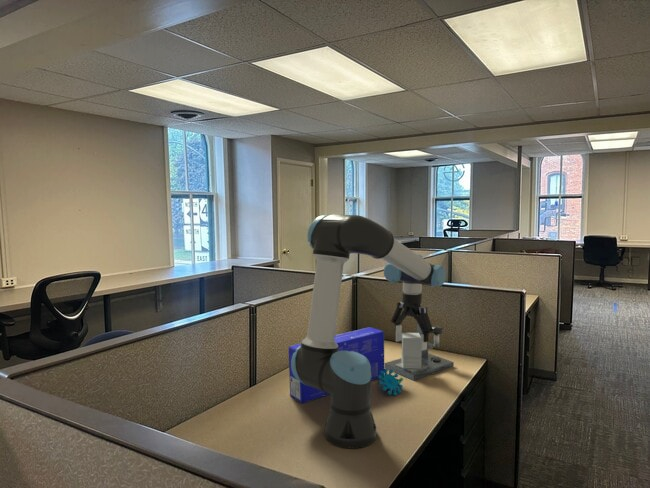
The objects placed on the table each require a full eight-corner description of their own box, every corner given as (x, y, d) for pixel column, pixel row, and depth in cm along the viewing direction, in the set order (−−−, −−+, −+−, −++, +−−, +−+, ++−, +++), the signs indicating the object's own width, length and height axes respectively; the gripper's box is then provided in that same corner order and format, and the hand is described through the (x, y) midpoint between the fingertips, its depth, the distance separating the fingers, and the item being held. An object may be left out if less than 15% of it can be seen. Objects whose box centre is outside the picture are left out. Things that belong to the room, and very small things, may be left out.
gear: (385, 395, 147) (375, 368, 153) (377, 402, 151) (367, 376, 157) (410, 392, 153) (399, 366, 159) (400, 399, 157) (390, 374, 162)
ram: (437, 348, 176) (437, 329, 175) (427, 345, 180) (427, 327, 179) (444, 346, 179) (445, 327, 178) (435, 343, 183) (435, 325, 182)
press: (413, 380, 164) (414, 334, 162) (384, 367, 177) (385, 325, 175) (453, 366, 178) (454, 324, 176) (424, 355, 190) (424, 316, 189)
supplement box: (419, 362, 176) (419, 332, 175) (421, 369, 169) (422, 338, 167) (401, 361, 177) (401, 332, 175) (402, 368, 169) (402, 337, 168)
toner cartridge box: (370, 370, 174) (370, 326, 172) (384, 377, 167) (385, 331, 165) (288, 395, 151) (287, 344, 150) (301, 404, 145) (300, 351, 143)
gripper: (443, 297, 162) (441, 351, 164) (396, 287, 182) (395, 336, 184) (430, 299, 158) (428, 355, 159) (383, 289, 178) (382, 338, 179)
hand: (410, 345), depth 171 cm, fingers open, 13 cm apart
